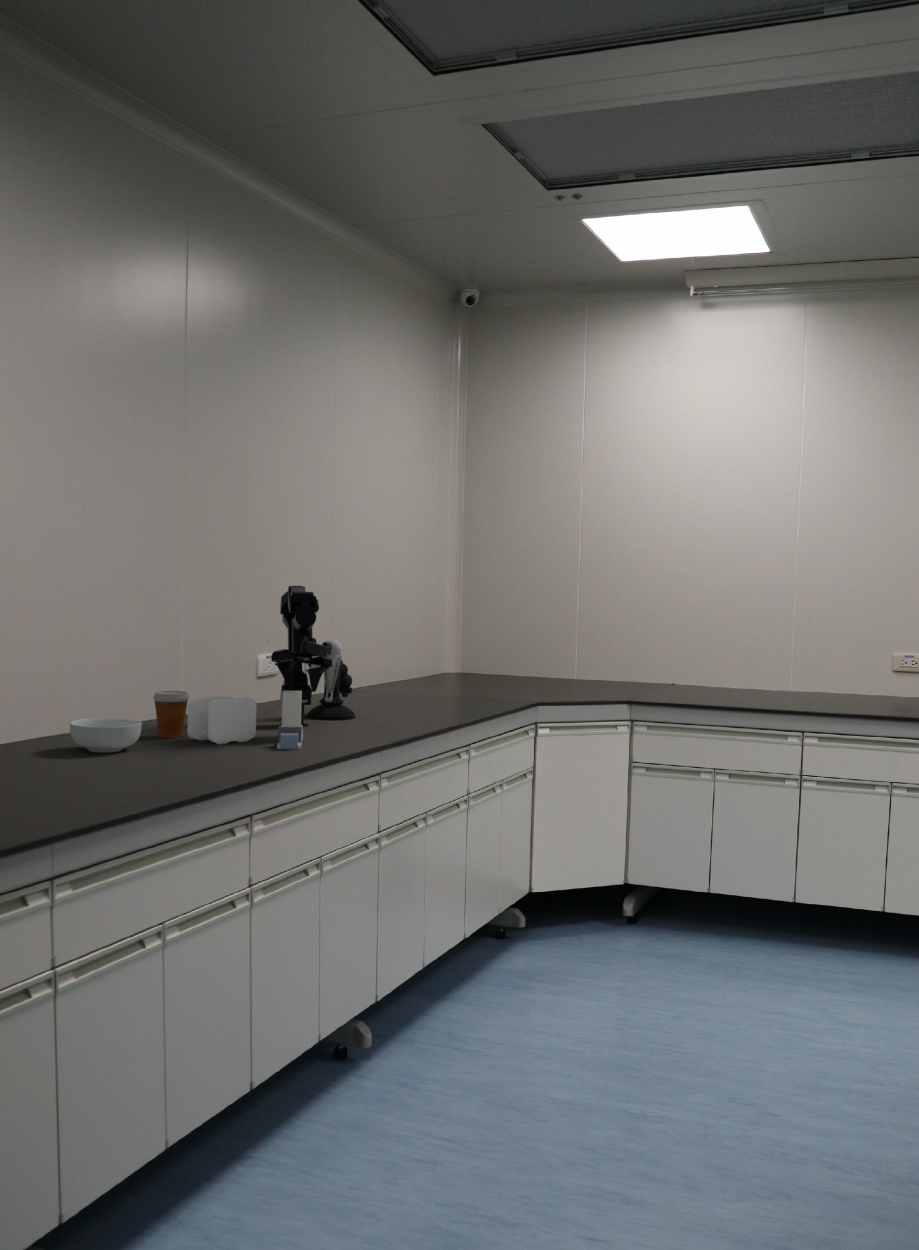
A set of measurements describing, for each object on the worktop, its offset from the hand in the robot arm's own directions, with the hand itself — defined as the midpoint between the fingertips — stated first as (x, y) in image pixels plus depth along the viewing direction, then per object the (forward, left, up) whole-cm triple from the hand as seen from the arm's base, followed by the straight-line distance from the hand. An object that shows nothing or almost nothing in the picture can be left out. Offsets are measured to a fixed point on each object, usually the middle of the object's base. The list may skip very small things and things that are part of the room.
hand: (302, 690), depth 290 cm
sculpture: (-37, +28, -13) cm, 49 cm away
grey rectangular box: (+4, -5, -12) cm, 13 cm away
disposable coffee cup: (-12, -33, -13) cm, 38 cm away
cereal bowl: (+4, -54, -13) cm, 56 cm away
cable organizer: (0, -23, -13) cm, 26 cm away
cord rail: (+9, -7, -13) cm, 17 cm away
